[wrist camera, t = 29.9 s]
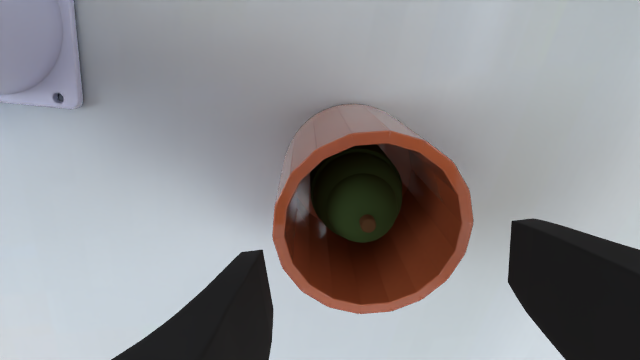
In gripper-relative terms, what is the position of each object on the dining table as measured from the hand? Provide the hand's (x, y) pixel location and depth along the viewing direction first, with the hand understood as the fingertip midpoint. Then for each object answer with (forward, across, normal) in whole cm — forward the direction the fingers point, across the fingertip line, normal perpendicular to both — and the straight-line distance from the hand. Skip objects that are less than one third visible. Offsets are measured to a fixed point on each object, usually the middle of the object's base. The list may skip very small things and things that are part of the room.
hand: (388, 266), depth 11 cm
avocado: (+10, 0, 0) cm, 10 cm away
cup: (+10, 0, 0) cm, 10 cm away
